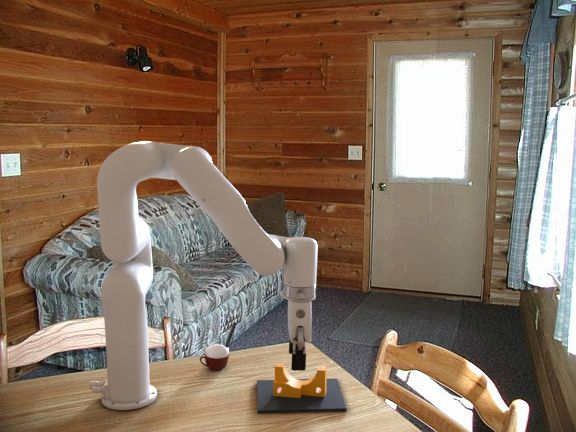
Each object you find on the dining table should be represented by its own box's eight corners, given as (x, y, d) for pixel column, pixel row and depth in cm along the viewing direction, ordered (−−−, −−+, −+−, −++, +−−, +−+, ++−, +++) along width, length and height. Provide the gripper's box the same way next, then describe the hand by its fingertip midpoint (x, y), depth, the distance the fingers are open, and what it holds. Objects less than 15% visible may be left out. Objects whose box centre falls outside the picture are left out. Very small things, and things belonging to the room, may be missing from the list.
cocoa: (199, 372, 160) (198, 328, 158) (202, 362, 167) (201, 319, 165) (235, 372, 160) (235, 328, 158) (237, 363, 167) (237, 320, 165)
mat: (257, 413, 138) (257, 410, 138) (257, 383, 154) (257, 380, 154) (346, 411, 140) (346, 408, 139) (336, 381, 155) (337, 378, 155)
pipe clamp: (273, 395, 146) (273, 369, 145) (277, 387, 150) (277, 362, 149) (323, 400, 143) (324, 373, 142) (326, 392, 148) (326, 366, 146)
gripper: (319, 302, 134) (316, 377, 137) (312, 281, 151) (309, 348, 154) (285, 302, 134) (282, 376, 137) (281, 280, 151) (279, 347, 154)
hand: (296, 361), depth 145 cm, fingers open, 9 cm apart
